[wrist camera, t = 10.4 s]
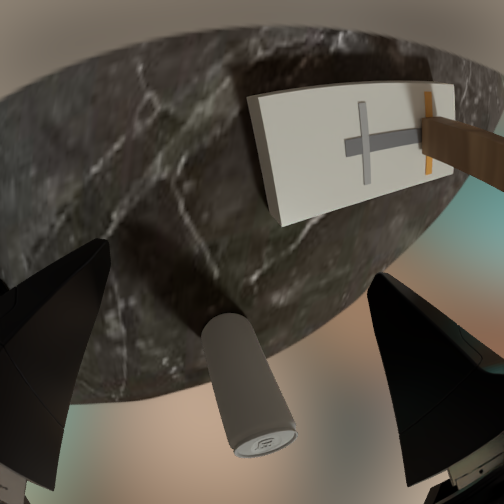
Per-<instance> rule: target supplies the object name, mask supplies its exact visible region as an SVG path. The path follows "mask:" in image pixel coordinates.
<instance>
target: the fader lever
mask: <svg viewBox="0 0 504 504" xmlns="http://www.w3.org/2000/svg"><path fill="white" fill-rule="evenodd" d="M422 154H424V155H426V156H429V157H431V158H433V159H436V160H438V161H441V162H443V163H445V164H448V165H450V166H452V167H454V168H457V169H459V170H461V171H463V172H465V173H467V174H469V175H471V176H473V177H476V178H478V179H480V180H482V181H484V182H486V183H487V184H489V185H491V186H493V187H495V188H497V189H499V190H501V191H502V192H504V137H502V136H499V135H496V134H494V133H491V132H489V131H486V130H483V129H480V128H477V127H474V126H471V125H468V124H465V123H461V122H458V121H455V120H451V119H448V118H444V117H441V116H438V117H426V118H422Z"/></svg>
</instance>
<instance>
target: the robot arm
mask: <svg viewBox="0 0 504 504" xmlns="http://www.w3.org/2000/svg"><path fill="white" fill-rule="evenodd" d="M110 266H111V259H110V249H109V242H108V240H106V239H98V238H96V239H94V240H92V241H90V242H88V243H87V244H85V245H83V246H81V247H79V248H78V249H76V250H74V251H72V252H71V253H69V254H67V255H66V256H64V257H62V258H60V259H59V260H57V261H55V262H54V263H52V264H50V265H49V266H47V267H45V268H44V269H42V270H40V271H39V272H37V273H36V274H34V275H32V276H31V277H29V278H28V279H26V280H25V281H23V282H21V283H20V284H18V285H17V287H14V288H12V289H11V290H9V291H7V290H6V288H5V287H4V285H3V284H2V282H1V281H0V504H30V503H29V501H28V499H27V498H26V496H25V490H26V483H27V481H30V482H32V483H34V484H36V485H39V486H41V487H44V488H46V489H49V490H51V491H54V488H55V481H56V473H57V466H58V460H59V454H60V448H61V443H62V438H63V433H64V427H65V422H66V418H67V414H68V410H69V406H70V402H71V398H72V394H73V390H74V386H75V383H76V379H77V375H78V372H79V369H80V365H81V362H82V359H83V355H84V352H85V349H86V346H87V343H88V340H89V337H90V334H91V331H92V328H93V325H94V323H95V320H96V317H97V314H98V311H99V308H100V305H101V301H102V297H103V293H104V289H105V285H106V282H107V278H108V274H109V271H110ZM367 298H368V302H369V307H370V313H371V317H372V323H373V328H374V333H375V336H376V340H377V343H378V347H379V351H380V355H381V358H382V362H383V366H384V369H385V374H386V377H387V381H388V385H389V390H390V395H391V398H392V403H393V408H394V412H395V418H396V422H397V427H398V433H399V439H400V445H401V450H402V456H403V463H404V469H405V477H406V483H407V487H410V486H412V485H415V484H418V483H420V482H422V481H425V480H427V479H429V478H431V477H434V476H436V475H438V474H440V473H442V472H444V471H446V470H447V471H448V474H449V477H450V479H448V480H446V481H444V482H442V483H440V484H438V485H436V486H434V487H432V488H430V491H429V493H428V495H427V498H426V500H425V502H424V504H504V359H503V358H502V357H500V356H499V355H498V354H496V353H495V352H493V351H492V350H491V349H490V348H488V347H487V346H485V345H484V344H483V343H481V342H480V341H479V340H477V339H476V338H475V337H473V336H472V335H471V334H469V333H468V332H467V331H465V330H464V329H463V328H462V327H460V326H459V325H457V324H456V323H455V322H454V321H453V320H451V319H450V318H449V317H447V316H446V315H445V314H443V313H442V312H441V311H440V310H438V309H437V308H436V307H434V306H433V305H431V304H430V303H429V302H427V301H426V300H425V299H423V298H422V297H421V296H419V295H418V294H416V293H415V292H414V291H412V290H411V289H410V288H408V287H407V286H405V285H404V284H403V283H401V282H400V281H398V280H397V279H395V278H394V277H393V276H391V275H390V274H388V273H383V272H379V273H377V274H376V275H375V277H374V279H373V281H372V283H371V285H370V287H369V289H368V291H367Z"/></svg>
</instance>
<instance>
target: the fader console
mask: <svg viewBox="0 0 504 504" xmlns="http://www.w3.org/2000/svg"><path fill="white" fill-rule="evenodd" d="M246 98H247V103H248V108H249V112H250V117H251V122H252V127H253V131H254V136H255V141H256V146H257V151H258V156H259V161H260V166H261V171H262V176H263V181H264V186H265V192H266V197H267V202H268V207H269V213H270V214H271V215H272V216H273V217H274V218H275V219H276V221H277V222H278V223H279V224H280V225H281V226H282V227H284V226H287V225H290V224H293V223H296V222H299V221H302V220H305V219H308V218H312V217H315V216H318V215H321V214H324V213H327V212H330V211H334V210H337V209H340V208H343V207H346V206H349V205H353V204H356V203H359V202H362V201H365V200H369V199H372V198H375V197H378V196H381V195H385V194H388V193H391V192H394V191H398V190H401V189H404V188H407V187H411V186H414V185H417V184H421V183H424V182H427V181H431V180H434V179H437V178H441V177H444V176H447V175H451V174H453V168H454V167H452V166H450V165H448V164H445V163H443V162H441V161H438V160H436V159H433V158H431V157H429V156H426V155H424V154H422V118H426V117H438V116H441V117H444V118H448V119H451V120H455V98H454V85H453V84H447V83H441V82H434V81H363V82H347V83H335V84H325V85H316V86H308V87H300V88H293V89H286V90H280V91H274V92H269V93H263V94H258V95H253V96H248V97H246Z"/></svg>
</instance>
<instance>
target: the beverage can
mask: <svg viewBox="0 0 504 504" xmlns="http://www.w3.org/2000/svg"><path fill="white" fill-rule="evenodd" d="M201 340H202V345H203V349H204V353H205V357H206V362H207V366H208V370H209V374H210V378H211V382H212V385H213V390H214V393H215V397H216V401H217V404H218V408H219V412H220V415H221V419H222V422H223V426H224V429H225V432H226V436H227V439H228V442H229V445H230V447H231V448H232V449H234V451H233V452H234V454H235V455H236V456H237V457H240V458H254V457H260V456H265V455H268V454H271V453H274V452H276V451H279V450H281V449H283V448H285V447H287V446H288V445H290V444H291V443H292V442H294V441H295V440H296V438H297V437H298V432H297V431H296V430H295V429H296V423H295V421H294V419H293V417H292V415H291V412H290V410H289V408H288V406H287V404H286V401H285V399H284V397H283V396H282V393H281V391H280V389H279V386H278V384H277V382H276V380H275V378H274V376H273V373H272V371H271V369H270V367H269V365H268V362H267V360H266V358H265V355H264V353H263V351H262V349H261V346H260V344H259V342H258V339H257V337H256V335H255V332H254V330H253V327H252V325H251V323H250V322H249V320H247V319H246V318H245V317H244V316H242V315H239V314H235V313H224V314H220V315H218V316H216V317H214V318H212V319H211V320H210V321H209V322H208V323H207V325H206V326H205V327H204V329H203V331H202V334H201Z"/></svg>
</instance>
